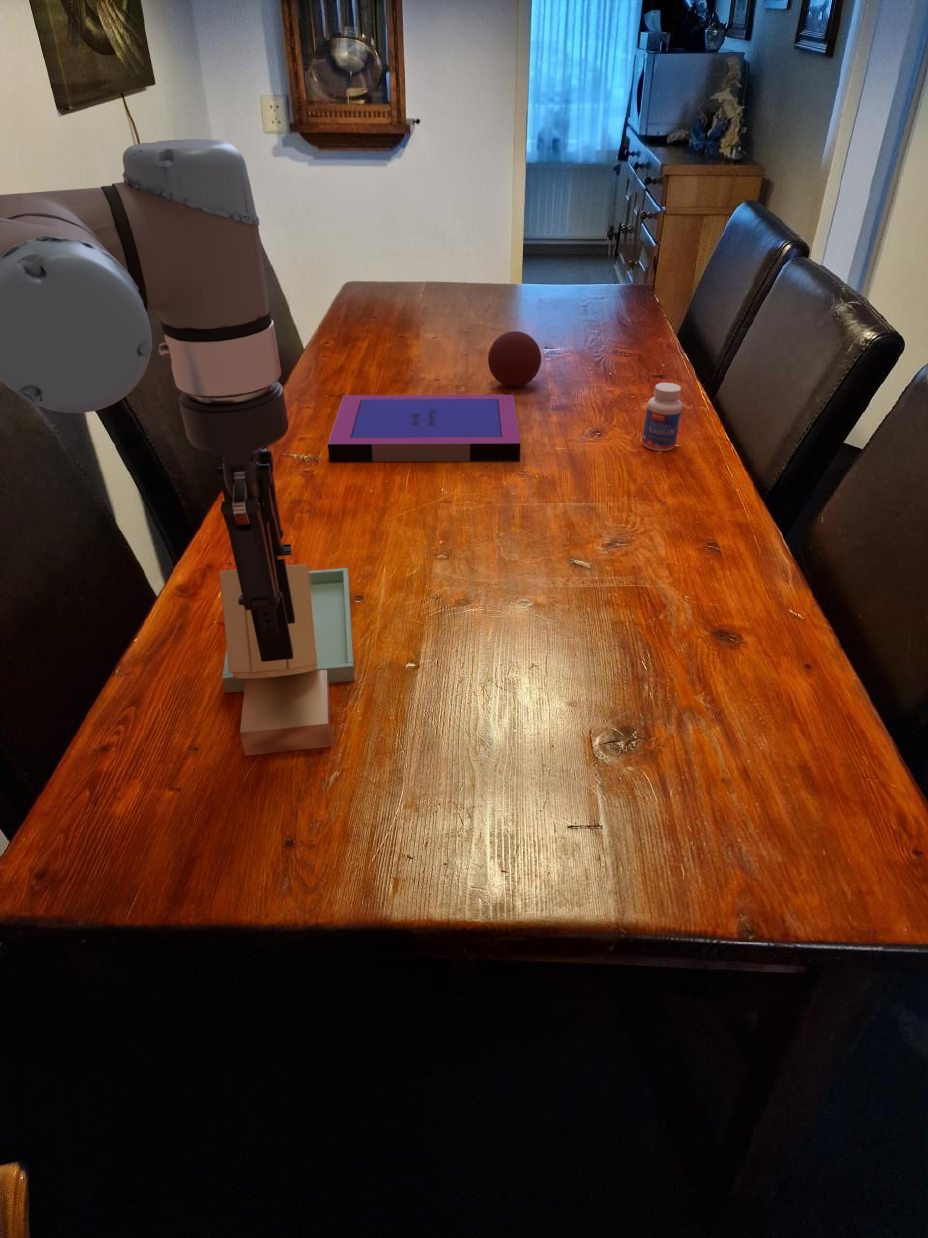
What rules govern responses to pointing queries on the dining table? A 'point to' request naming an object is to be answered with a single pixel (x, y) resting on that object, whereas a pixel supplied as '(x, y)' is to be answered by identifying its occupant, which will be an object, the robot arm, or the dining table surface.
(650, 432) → the pill bottle
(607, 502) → the dining table surface
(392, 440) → the book
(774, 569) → the dining table surface
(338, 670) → the tray
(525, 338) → the decorative ball
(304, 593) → the cup
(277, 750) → the block
